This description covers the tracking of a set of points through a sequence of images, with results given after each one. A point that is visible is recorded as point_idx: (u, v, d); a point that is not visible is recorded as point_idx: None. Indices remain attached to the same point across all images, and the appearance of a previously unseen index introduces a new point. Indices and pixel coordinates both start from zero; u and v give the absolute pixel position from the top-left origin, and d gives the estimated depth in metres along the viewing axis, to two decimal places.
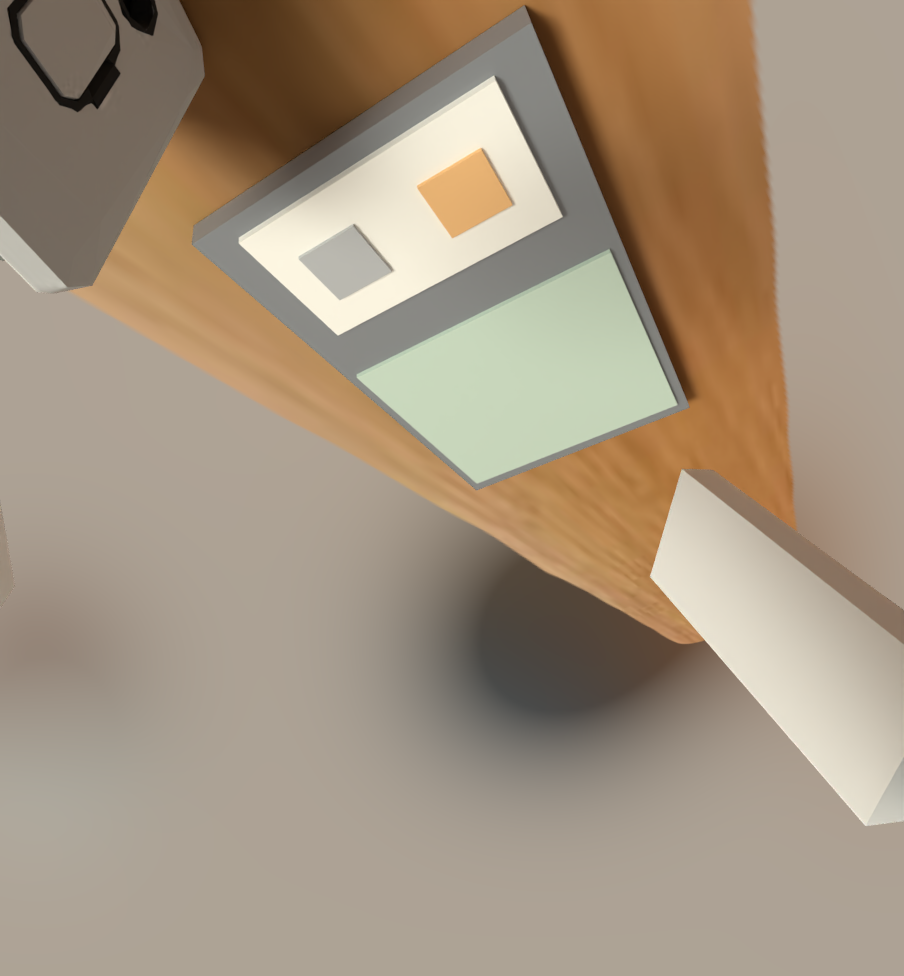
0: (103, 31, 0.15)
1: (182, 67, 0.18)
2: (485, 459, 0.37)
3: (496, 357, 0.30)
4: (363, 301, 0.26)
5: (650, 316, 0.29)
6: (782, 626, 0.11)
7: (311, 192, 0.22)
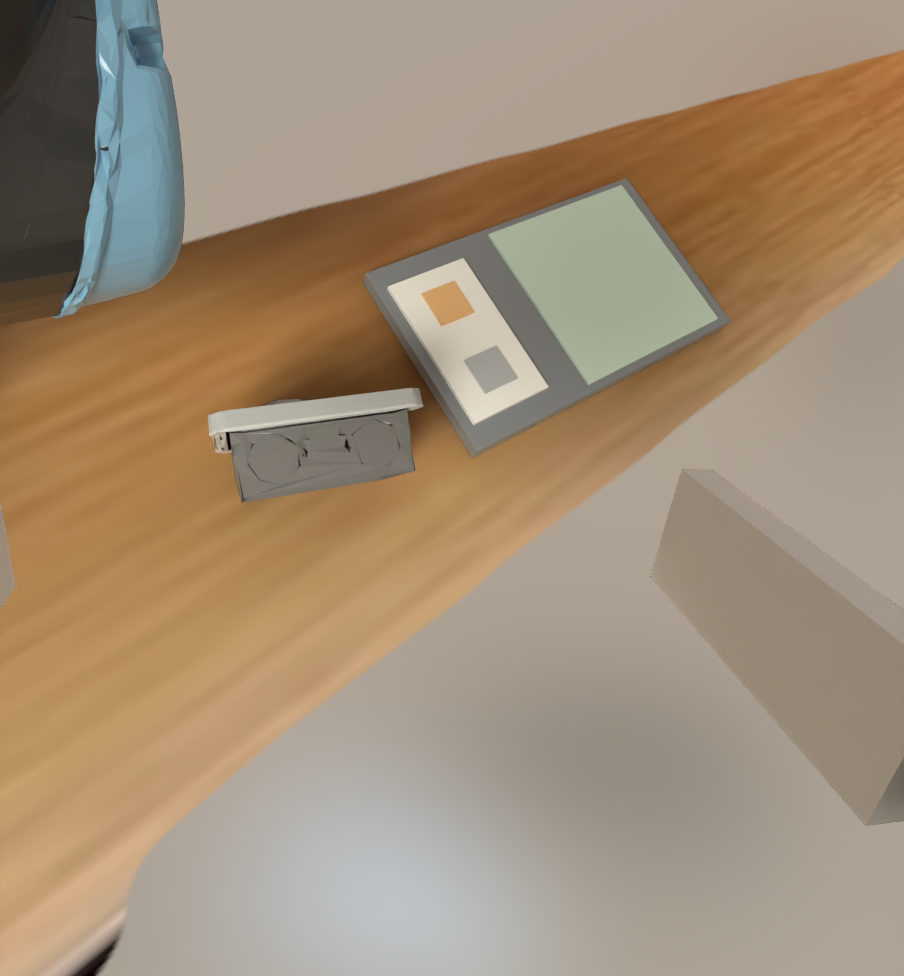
0: None
1: None
2: (684, 310, 0.46)
3: (571, 296, 0.44)
4: (520, 366, 0.41)
5: (539, 210, 0.46)
6: (782, 626, 0.11)
7: (444, 379, 0.39)
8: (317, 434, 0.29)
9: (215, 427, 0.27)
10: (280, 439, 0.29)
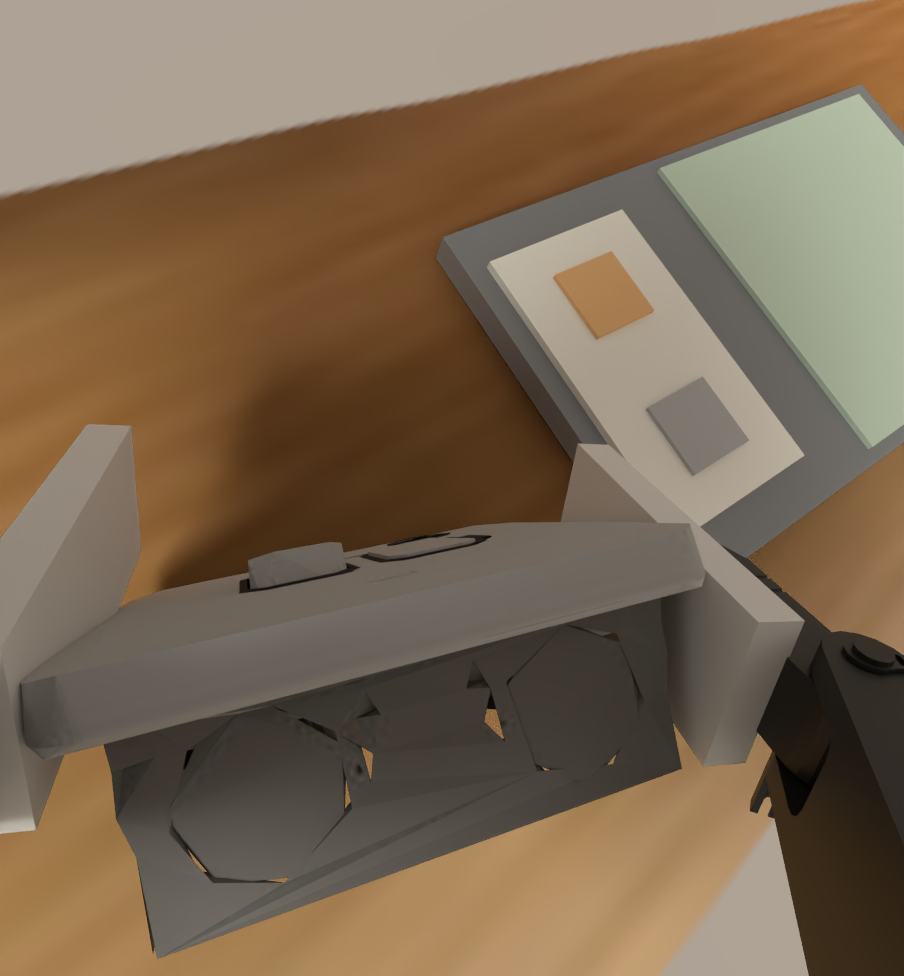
0: (430, 539, 0.14)
1: (484, 525, 0.17)
2: None
3: (814, 281, 0.24)
4: (748, 415, 0.21)
5: (736, 131, 0.26)
6: None
7: None
8: (403, 695, 0.09)
9: (38, 735, 0.07)
10: (283, 727, 0.09)
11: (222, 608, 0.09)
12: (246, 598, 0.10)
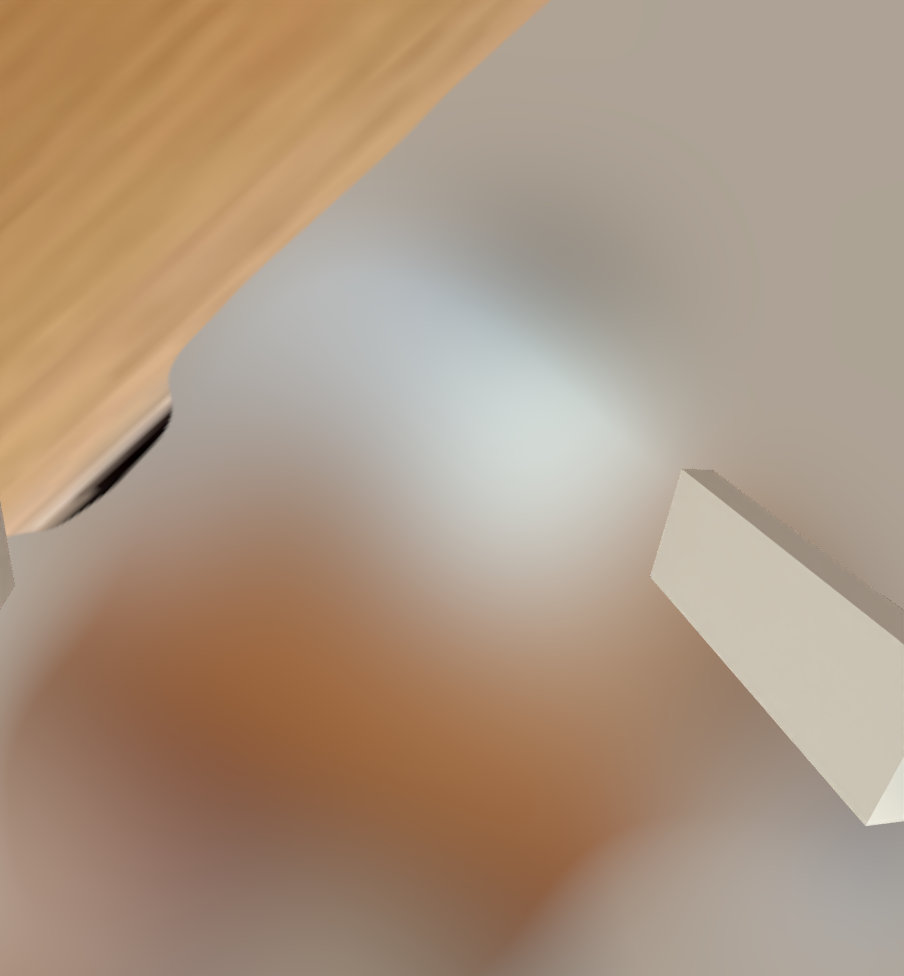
0: None
1: None
2: None
3: None
4: None
5: None
6: (782, 626, 0.11)
7: None
8: None
9: None
10: None
11: None
12: None
